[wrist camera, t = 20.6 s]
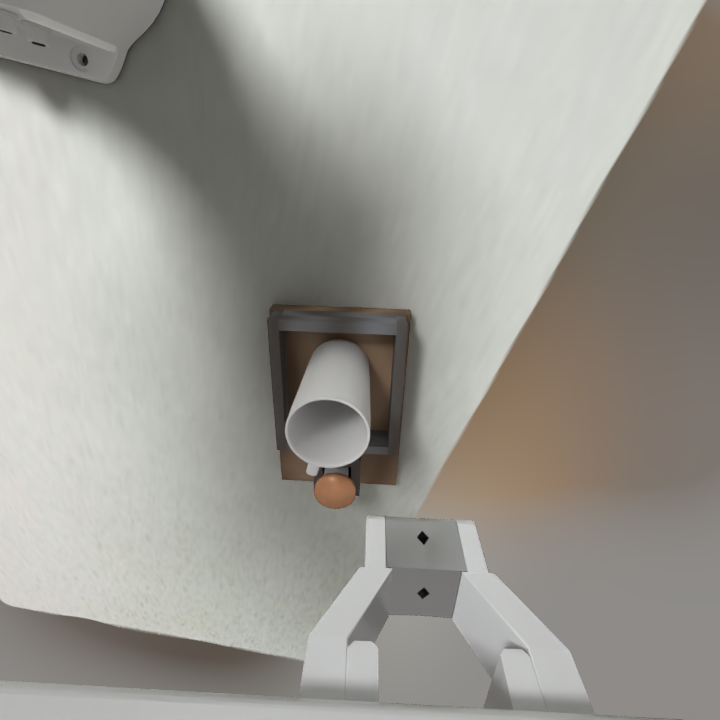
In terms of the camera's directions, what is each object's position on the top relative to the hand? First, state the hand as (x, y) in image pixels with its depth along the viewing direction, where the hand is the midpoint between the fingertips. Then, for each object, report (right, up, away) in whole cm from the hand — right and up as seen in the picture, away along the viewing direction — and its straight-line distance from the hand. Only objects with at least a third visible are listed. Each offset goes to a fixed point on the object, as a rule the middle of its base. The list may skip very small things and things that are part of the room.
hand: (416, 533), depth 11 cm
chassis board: (-4, 0, +35) cm, 35 cm away
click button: (-4, -7, +36) cm, 37 cm away
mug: (-4, +3, +32) cm, 32 cm away
